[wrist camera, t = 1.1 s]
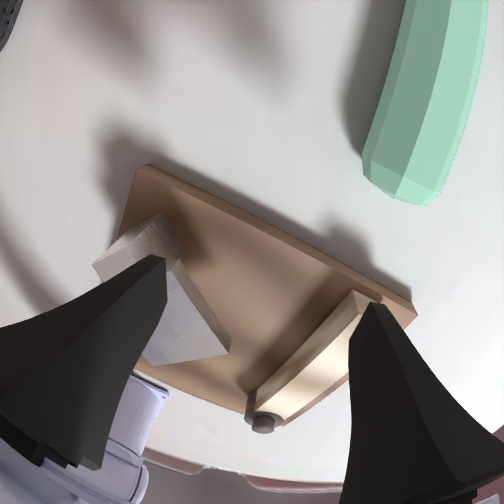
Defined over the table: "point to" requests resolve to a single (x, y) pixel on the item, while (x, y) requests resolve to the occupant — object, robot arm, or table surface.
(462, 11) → the green octagonal bar
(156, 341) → the plate
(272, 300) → the board
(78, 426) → the robot arm
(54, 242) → the table surface
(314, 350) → the link
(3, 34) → the storage bin
